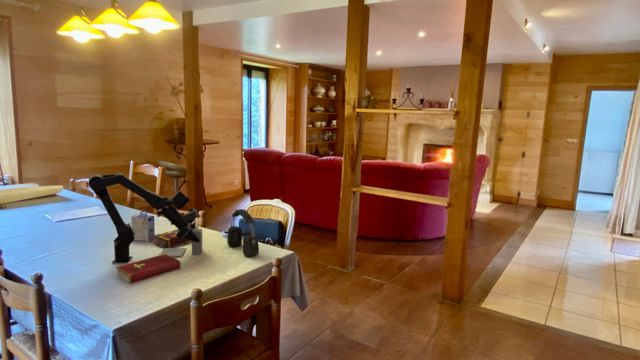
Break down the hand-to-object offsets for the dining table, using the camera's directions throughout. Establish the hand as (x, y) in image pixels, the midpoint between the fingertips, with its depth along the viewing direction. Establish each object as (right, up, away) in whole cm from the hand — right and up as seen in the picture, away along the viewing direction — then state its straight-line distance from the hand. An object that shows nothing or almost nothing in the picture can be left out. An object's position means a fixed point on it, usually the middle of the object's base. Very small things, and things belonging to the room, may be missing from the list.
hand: (200, 239), depth 179 cm
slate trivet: (-12, -6, -1) cm, 14 cm away
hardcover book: (-14, -10, -21) cm, 28 cm away
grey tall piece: (-2, -6, +1) cm, 7 cm away
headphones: (+18, -6, +6) cm, 20 cm away
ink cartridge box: (-34, -3, +18) cm, 38 cm away
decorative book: (-18, -4, +14) cm, 23 cm away
